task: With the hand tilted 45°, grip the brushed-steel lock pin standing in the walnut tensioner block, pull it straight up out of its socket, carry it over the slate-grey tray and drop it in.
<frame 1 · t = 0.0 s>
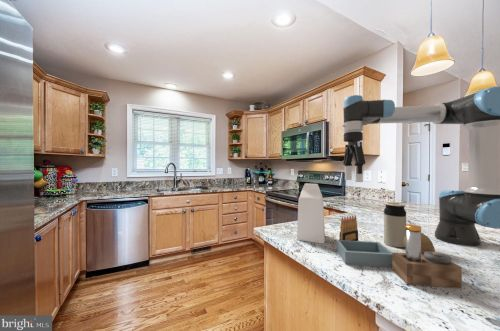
hand: (353, 180, 91), 28 cm above the countertop, tool pointing down, fingers open, 13 cm apart
natural sponge: (418, 259, 77), on the countertop
travel mug: (394, 245, 91), on the countertop
milk: (311, 237, 101), on the countertop
tensioner block: (424, 278, 63), on the countertop
ammunition clip: (349, 242, 94), on the countertop
lock pin: (413, 278, 64), resting in tensioner block
tray: (363, 258, 78), on the countertop
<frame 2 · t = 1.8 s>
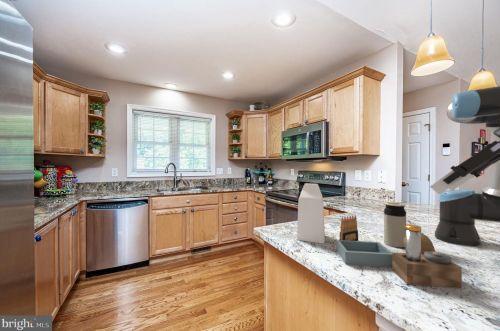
hand: (441, 189, 60), 28 cm above the countertop, tool tilted 45°, fingers open, 13 cm apart
nothing on the countertop moved.
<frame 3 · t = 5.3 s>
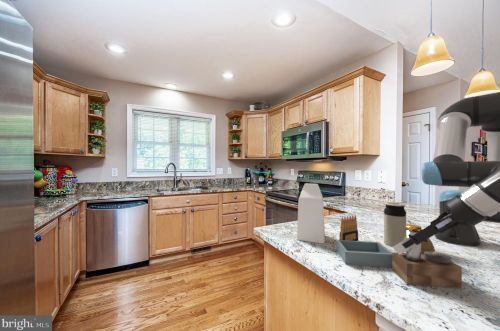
hand: (398, 249, 67), 8 cm above the countertop, tool tilted 45°, fingers closed on lock pin, 3 cm apart
lock pin: (413, 278, 64), resting in tensioner block, touching gripper
everything else where it was.
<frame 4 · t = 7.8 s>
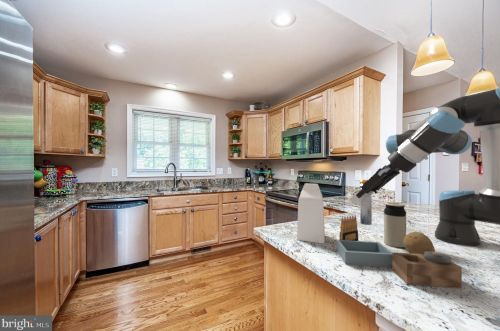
hand: (355, 201, 80), 21 cm above the countertop, tool tilted 45°, fingers closed on lock pin, 3 cm apart
lock pin: (366, 223, 77), point 13 cm above the countertop, touching gripper
everything else where it was.
when the fingers open (11 cm above the countertop, at t = 10.1 s): lock pin drops 2 cm, resting on tray.
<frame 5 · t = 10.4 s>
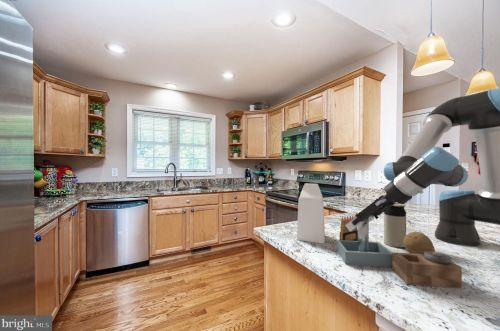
hand: (353, 226, 81), 11 cm above the countertop, tool tilted 45°, fingers open, 8 cm apart
lock pin: (363, 255, 78), point 1 cm above the countertop, touching tray
everything else where it was.
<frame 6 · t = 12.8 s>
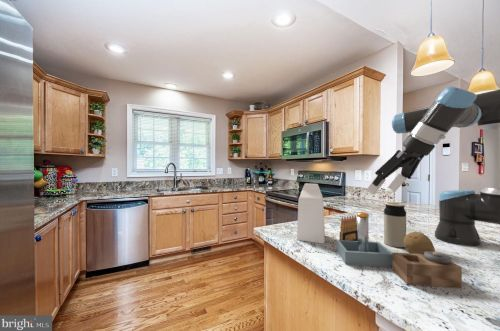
hand: (381, 190, 75), 25 cm above the countertop, tool tilted 35°, fingers open, 13 cm apart
nothing on the countertop moved.
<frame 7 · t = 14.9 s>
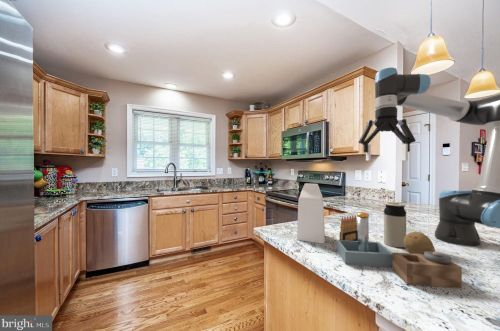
hand: (386, 160, 85), 37 cm above the countertop, tool pointing down, fingers open, 13 cm apart
nothing on the countertop moved.
at the end: lock pin inside the target area on the tray (0.1 cm from its centre), point 0.8 cm above the tray's base; lock pin touching tray; the gripper is holding nothing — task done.
